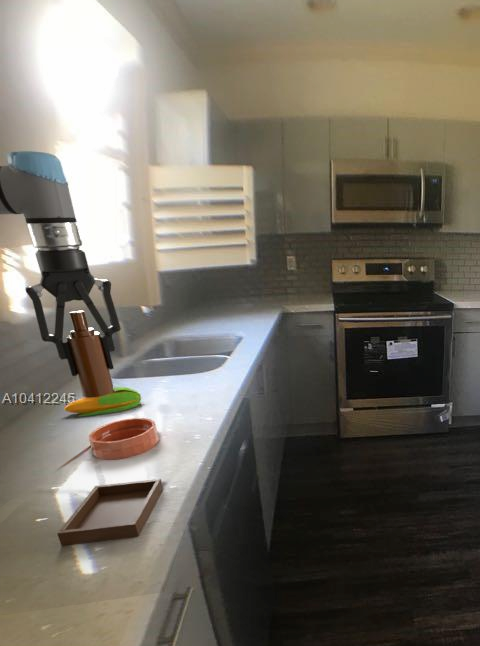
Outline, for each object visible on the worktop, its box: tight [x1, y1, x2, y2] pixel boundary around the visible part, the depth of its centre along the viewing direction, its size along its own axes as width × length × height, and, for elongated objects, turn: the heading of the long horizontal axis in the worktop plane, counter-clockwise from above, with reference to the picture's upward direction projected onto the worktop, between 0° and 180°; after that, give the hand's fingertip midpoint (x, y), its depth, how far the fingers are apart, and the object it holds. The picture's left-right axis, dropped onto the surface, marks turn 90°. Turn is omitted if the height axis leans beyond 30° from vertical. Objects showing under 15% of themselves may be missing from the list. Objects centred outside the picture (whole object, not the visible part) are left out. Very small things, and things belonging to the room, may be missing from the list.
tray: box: [56, 478, 164, 547], centre depth 87 cm, size 16×13×3 cm
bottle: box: [65, 310, 115, 398], centre depth 90 cm, size 6×6×16 cm
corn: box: [64, 386, 142, 418], centre depth 135 cm, size 7×8×20 cm
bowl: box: [88, 417, 160, 461], centre depth 113 cm, size 14×14×5 cm
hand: (92, 370), depth 91 cm, fingers closed on bottle, 6 cm apart
